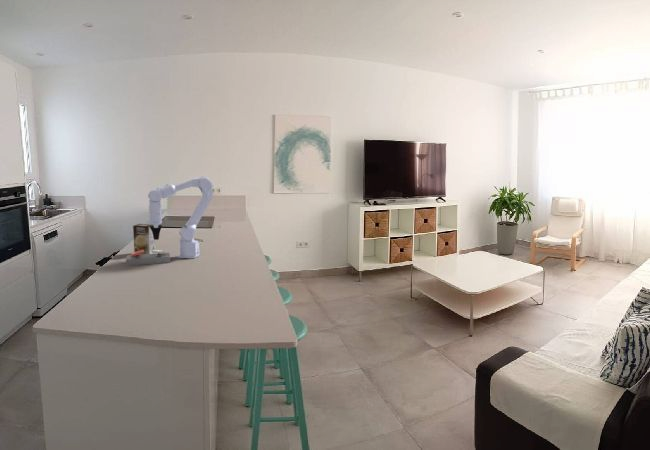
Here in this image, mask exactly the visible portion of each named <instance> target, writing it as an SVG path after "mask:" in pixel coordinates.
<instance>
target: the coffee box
mask: <svg viewBox="0 0 650 450" xmlns="http://www.w3.org/2000/svg"><path fill="white" fill-rule="evenodd" d="M150 226H154V225H152V224H147V223H136V224H135V225H132V229H133V250H134V252H133V253H135V252H138V251H140V250H144V253H142V254H139V255H143V254H155V253H153V252H152V251H153V250H156V242H155V241H156V240H154V238H153V233H152V230H151V228H150Z"/></svg>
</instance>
